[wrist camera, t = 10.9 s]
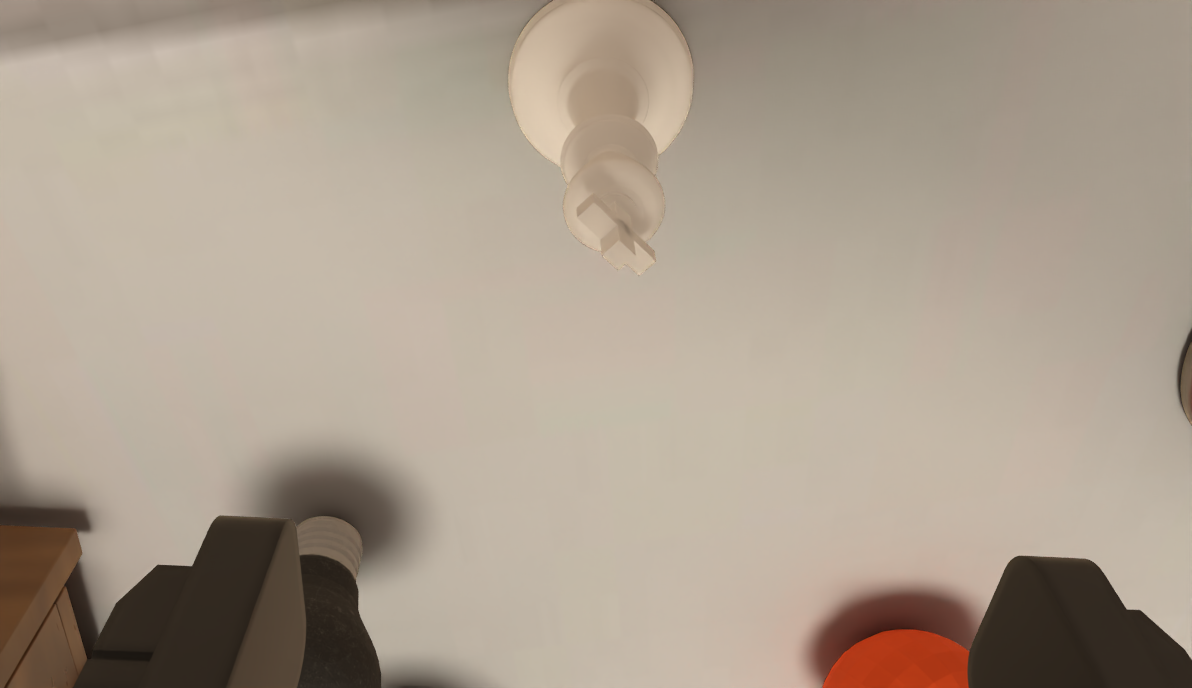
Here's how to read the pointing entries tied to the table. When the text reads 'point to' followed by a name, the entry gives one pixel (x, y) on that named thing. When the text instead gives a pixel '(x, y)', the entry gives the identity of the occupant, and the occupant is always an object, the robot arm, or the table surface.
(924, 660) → the clementine
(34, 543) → the drawer
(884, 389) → the table surface
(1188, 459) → the table surface
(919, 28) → the table surface
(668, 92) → the chess piece
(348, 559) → the light bulb
